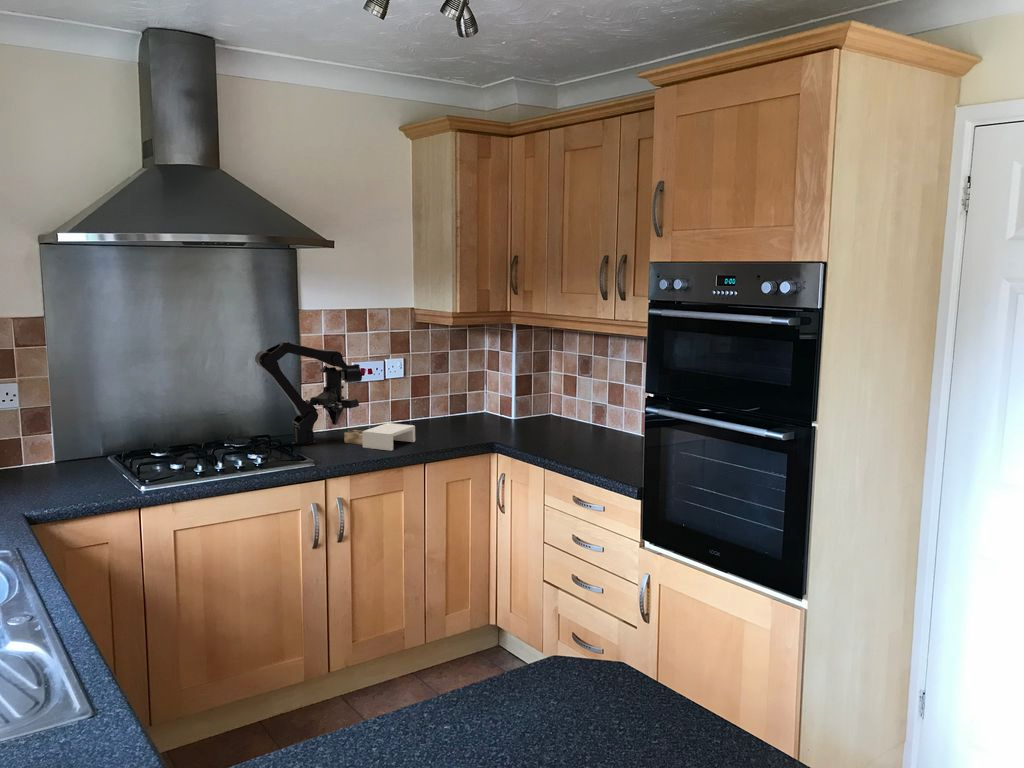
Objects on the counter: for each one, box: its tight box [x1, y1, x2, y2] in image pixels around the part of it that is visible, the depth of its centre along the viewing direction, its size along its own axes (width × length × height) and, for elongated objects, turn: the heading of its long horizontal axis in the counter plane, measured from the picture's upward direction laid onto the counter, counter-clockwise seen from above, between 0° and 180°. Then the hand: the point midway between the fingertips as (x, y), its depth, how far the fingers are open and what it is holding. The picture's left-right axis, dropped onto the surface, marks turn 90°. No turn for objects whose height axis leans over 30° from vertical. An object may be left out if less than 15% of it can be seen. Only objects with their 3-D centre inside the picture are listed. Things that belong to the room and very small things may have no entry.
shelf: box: [361, 422, 416, 452], centre depth 307 cm, size 12×17×6 cm
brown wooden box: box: [343, 429, 363, 446], centre depth 311 cm, size 10×6×4 cm, turn 63°
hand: (334, 424), depth 315 cm, fingers closed
